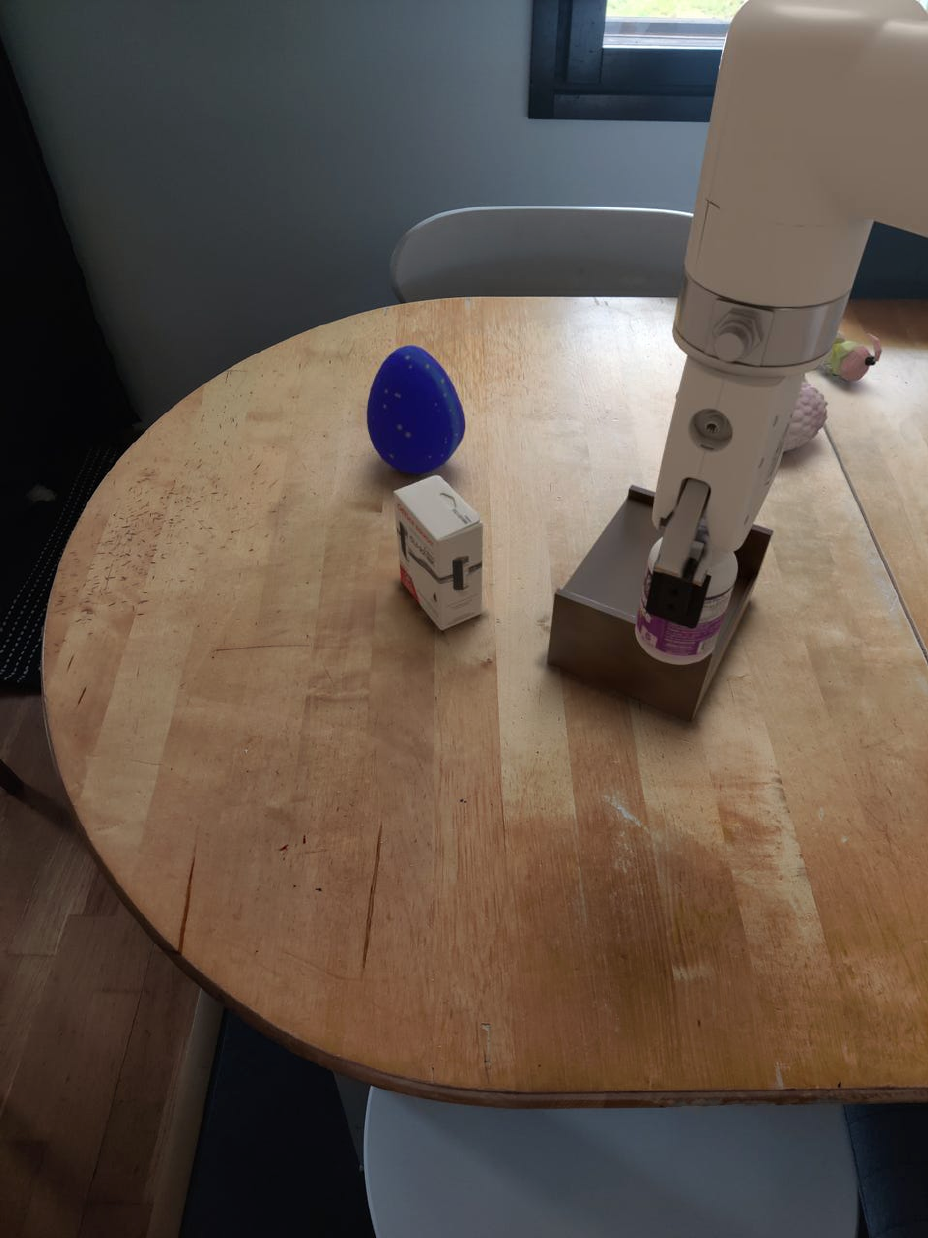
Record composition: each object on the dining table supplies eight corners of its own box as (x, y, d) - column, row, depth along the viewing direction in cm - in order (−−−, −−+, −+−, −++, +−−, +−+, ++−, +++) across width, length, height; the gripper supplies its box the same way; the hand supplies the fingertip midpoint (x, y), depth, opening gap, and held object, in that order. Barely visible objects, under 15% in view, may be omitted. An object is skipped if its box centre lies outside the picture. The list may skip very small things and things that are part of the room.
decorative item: (853, 406, 101) (816, 352, 95) (800, 484, 101) (760, 435, 95) (792, 397, 108) (755, 346, 103) (743, 469, 108) (703, 423, 103)
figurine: (758, 336, 119) (832, 394, 110) (789, 286, 115) (868, 341, 106) (797, 344, 124) (870, 400, 115) (828, 296, 120) (906, 350, 111)
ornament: (475, 461, 101) (477, 344, 91) (430, 501, 96) (426, 382, 85) (401, 431, 106) (394, 316, 95) (353, 468, 100) (341, 350, 90)
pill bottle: (625, 612, 59) (646, 499, 52) (701, 606, 59) (732, 494, 52) (644, 671, 55) (669, 559, 48) (725, 665, 55) (761, 553, 48)
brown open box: (750, 599, 85) (773, 530, 79) (691, 722, 75) (713, 654, 68) (619, 553, 90) (631, 484, 84) (546, 662, 80) (554, 593, 73)
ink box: (398, 580, 87) (391, 487, 79) (440, 564, 89) (438, 470, 80) (440, 633, 82) (437, 539, 74) (483, 614, 84) (486, 520, 75)
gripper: (793, 419, 34) (704, 704, 47) (873, 257, 44) (782, 527, 57) (616, 373, 36) (577, 656, 49) (731, 230, 47) (674, 494, 60)
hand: (688, 584), depth 53 cm, fingers closed on pill bottle, 5 cm apart
